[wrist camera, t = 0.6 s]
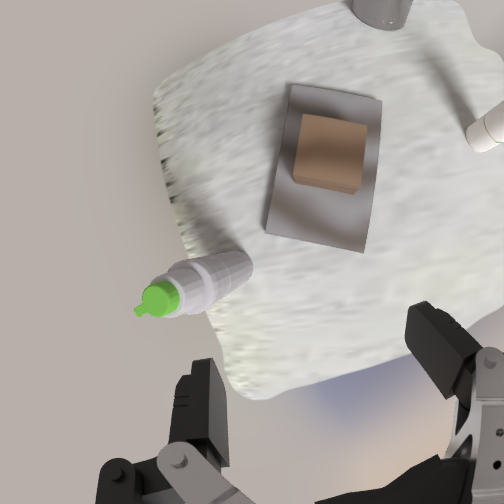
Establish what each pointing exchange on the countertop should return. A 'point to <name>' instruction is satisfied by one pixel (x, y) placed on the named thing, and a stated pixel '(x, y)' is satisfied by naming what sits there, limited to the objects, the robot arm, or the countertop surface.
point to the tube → (487, 130)
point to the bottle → (195, 284)
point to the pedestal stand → (326, 168)
